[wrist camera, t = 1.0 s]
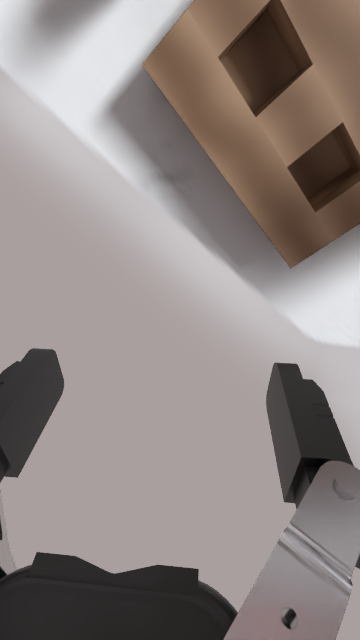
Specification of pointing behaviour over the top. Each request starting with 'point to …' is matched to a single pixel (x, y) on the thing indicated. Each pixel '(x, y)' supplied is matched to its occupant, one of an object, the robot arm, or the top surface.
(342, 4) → the hole block
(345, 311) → the top surface
